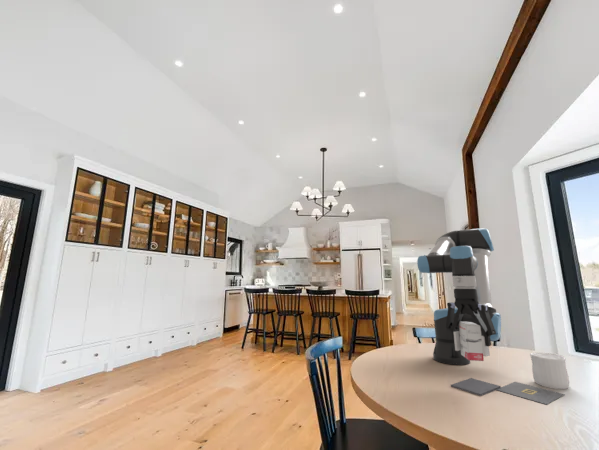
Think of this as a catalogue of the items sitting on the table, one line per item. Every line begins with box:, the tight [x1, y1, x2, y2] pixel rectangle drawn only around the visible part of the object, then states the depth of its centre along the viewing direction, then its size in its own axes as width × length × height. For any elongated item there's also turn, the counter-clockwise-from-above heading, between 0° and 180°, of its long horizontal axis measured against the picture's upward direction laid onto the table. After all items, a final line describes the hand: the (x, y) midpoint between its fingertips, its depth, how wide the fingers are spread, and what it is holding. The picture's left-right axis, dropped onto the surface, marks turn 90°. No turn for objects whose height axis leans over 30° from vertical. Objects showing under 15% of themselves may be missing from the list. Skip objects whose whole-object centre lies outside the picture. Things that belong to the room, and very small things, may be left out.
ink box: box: [459, 321, 485, 362], centre depth 104 cm, size 9×5×12 cm, turn 168°
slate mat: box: [495, 381, 565, 405], centre depth 96 cm, size 14×14×1 cm
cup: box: [529, 352, 570, 390], centre depth 104 cm, size 10×10×10 cm
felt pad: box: [450, 377, 502, 397], centre depth 101 cm, size 10×13×1 cm
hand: (471, 352), depth 103 cm, fingers closed on ink box, 9 cm apart
